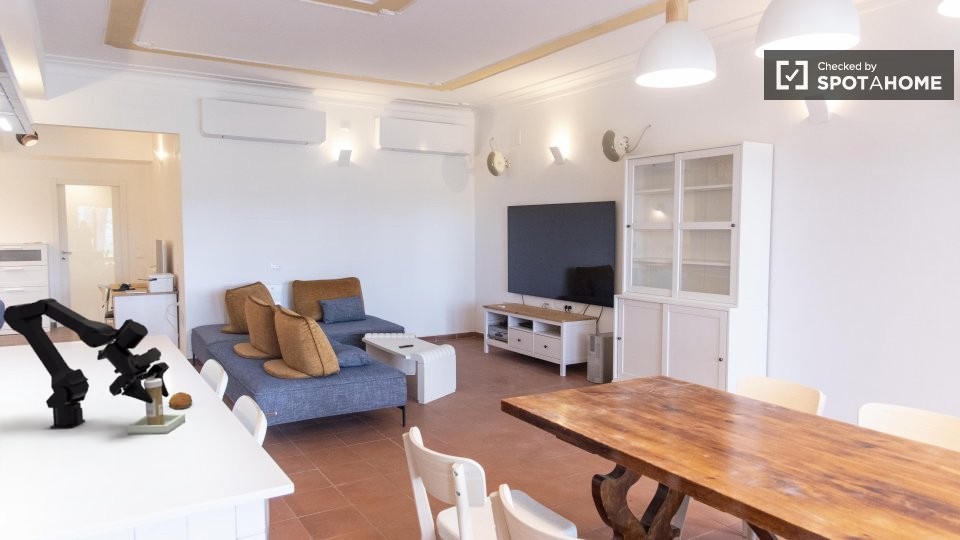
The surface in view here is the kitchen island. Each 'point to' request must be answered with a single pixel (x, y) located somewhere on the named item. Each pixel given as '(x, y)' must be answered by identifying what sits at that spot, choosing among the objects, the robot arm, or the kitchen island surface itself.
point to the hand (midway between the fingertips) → (160, 399)
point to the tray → (169, 425)
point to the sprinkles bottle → (154, 402)
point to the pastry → (180, 400)
